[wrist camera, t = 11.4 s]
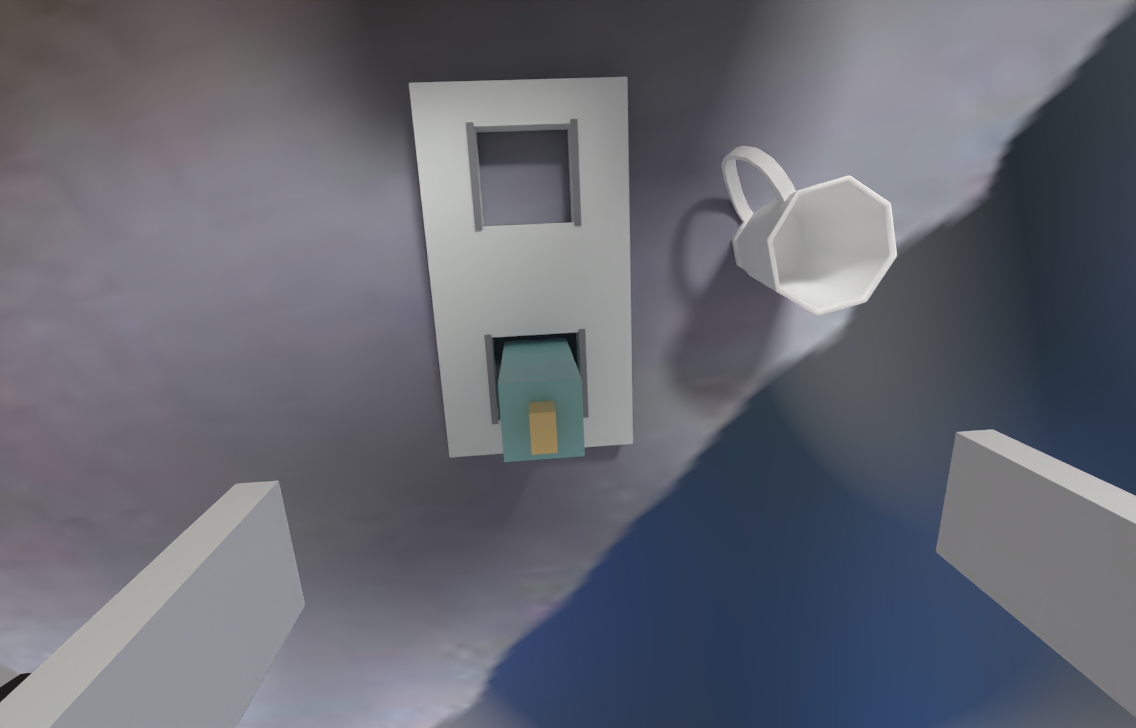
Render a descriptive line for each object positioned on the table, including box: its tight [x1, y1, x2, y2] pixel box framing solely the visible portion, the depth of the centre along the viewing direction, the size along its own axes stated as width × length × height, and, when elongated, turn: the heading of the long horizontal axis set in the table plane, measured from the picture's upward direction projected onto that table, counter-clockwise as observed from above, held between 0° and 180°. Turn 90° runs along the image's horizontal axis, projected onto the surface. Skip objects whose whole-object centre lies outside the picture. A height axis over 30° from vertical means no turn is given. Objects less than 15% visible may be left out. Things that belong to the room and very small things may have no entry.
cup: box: [721, 146, 897, 316], centre depth 30 cm, size 7×10×8 cm
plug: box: [498, 338, 585, 462], centre depth 30 cm, size 4×4×12 cm
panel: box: [409, 77, 633, 458], centre depth 33 cm, size 22×12×2 cm, turn 3°
